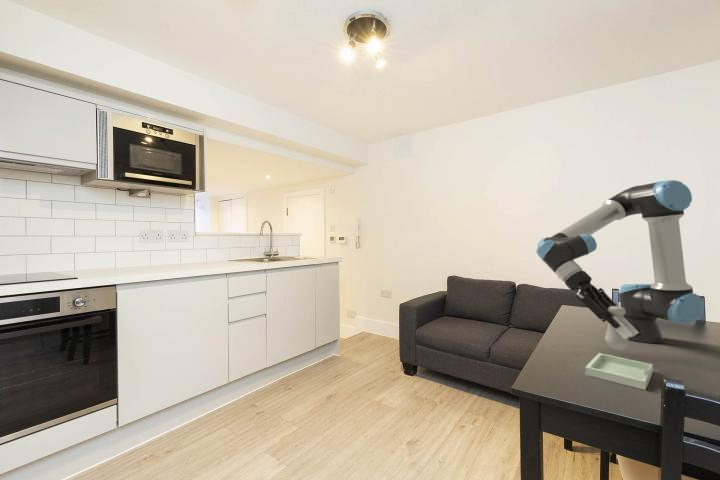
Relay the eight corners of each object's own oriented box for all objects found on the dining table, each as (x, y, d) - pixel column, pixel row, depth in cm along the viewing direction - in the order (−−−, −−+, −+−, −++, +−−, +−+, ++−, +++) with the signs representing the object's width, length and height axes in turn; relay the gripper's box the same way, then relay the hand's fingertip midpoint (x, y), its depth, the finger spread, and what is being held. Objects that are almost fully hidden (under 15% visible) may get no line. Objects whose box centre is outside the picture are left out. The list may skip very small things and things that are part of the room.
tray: (598, 359, 110) (598, 352, 110) (653, 371, 99) (652, 364, 99) (585, 374, 98) (585, 367, 98) (645, 390, 87) (645, 381, 87)
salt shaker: (600, 344, 101) (600, 305, 101) (616, 344, 102) (616, 304, 102) (616, 351, 95) (616, 308, 96) (634, 350, 96) (633, 308, 96)
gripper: (578, 281, 116) (634, 338, 101) (552, 284, 109) (607, 346, 94) (594, 268, 111) (655, 326, 96) (567, 270, 104) (629, 333, 89)
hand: (631, 335), depth 95 cm, fingers closed on salt shaker, 3 cm apart
